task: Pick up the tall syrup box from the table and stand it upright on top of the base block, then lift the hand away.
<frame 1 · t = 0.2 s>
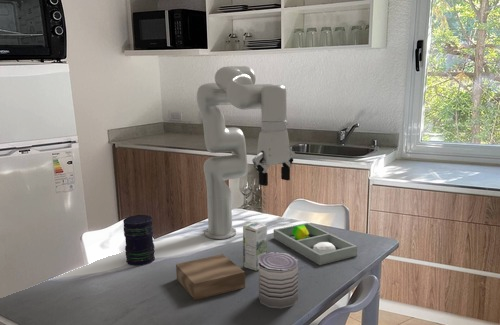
hand: (274, 182, 141), 30 cm above the table, tool pointing down, fingers open, 9 cm apart
storage jar: (140, 260, 160), on the table
apple: (302, 241, 176), resting in fruit tray
base block: (210, 283, 141), on the table
garlic: (323, 253, 164), resting in fruit tray
can: (278, 299, 131), on the table
syrup box: (255, 267, 153), on the table
fruit tray: (313, 246, 170), on the table
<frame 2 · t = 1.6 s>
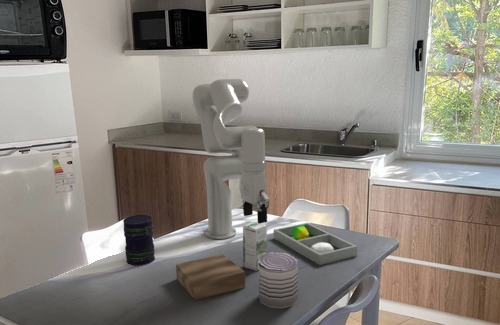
hand: (255, 218, 149), 17 cm above the table, tool pointing down, fingers open, 9 cm apart
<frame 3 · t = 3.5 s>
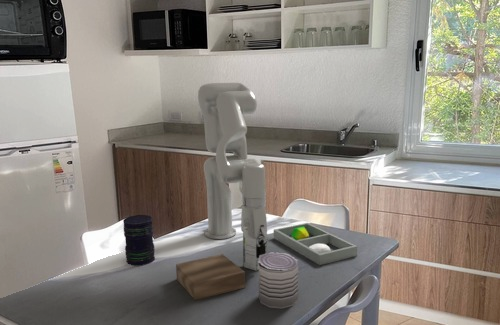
hand: (255, 252, 152), 5 cm above the table, tool pointing down, fingers closed on syrup box, 7 cm apart
apple: (302, 243, 174), resting in fruit tray
garlic: (318, 255, 162), resting in fruit tray
syrup box: (255, 267, 153), on the table, touching gripper
everything else where it was.
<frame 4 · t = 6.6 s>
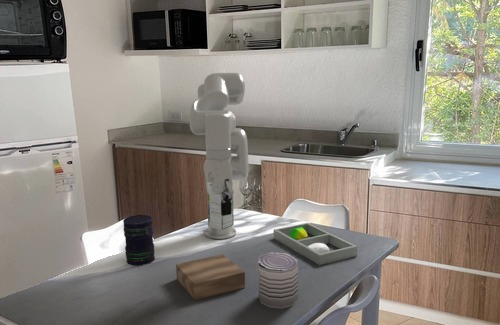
hand: (220, 211, 140), 22 cm above the table, tool pointing down, fingers closed on syrup box, 7 cm apart
apple: (301, 243, 173), resting in fruit tray
syrup box: (221, 227, 141), point 17 cm above the table, touching gripper
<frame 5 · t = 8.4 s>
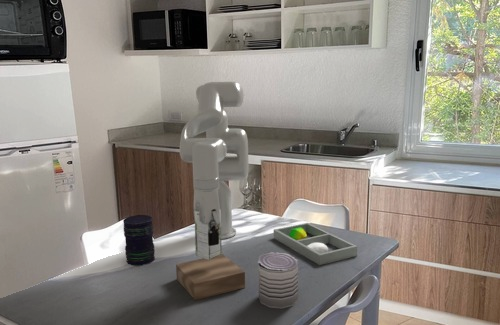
hand: (208, 240, 139), 14 cm above the table, tool pointing down, fingers closed on syrup box, 7 cm apart
syrup box: (209, 256, 140), point 9 cm above the table, touching gripper
when the fingers open (12 cm above the table, at t = 9.8 s): syrup box drops 2 cm, resting on base block.
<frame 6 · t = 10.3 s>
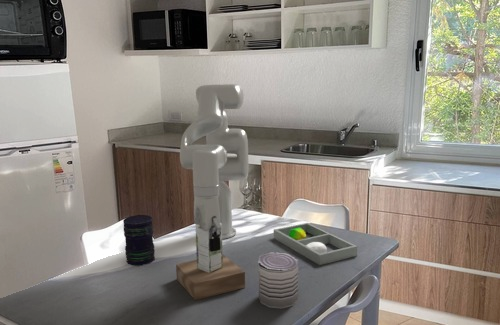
hand: (208, 245, 139), 12 cm above the table, tool pointing down, fingers open, 9 cm apart
apple: (299, 244, 173), resting in fruit tray
syrup box: (210, 268, 140), point 5 cm above the table, touching base block
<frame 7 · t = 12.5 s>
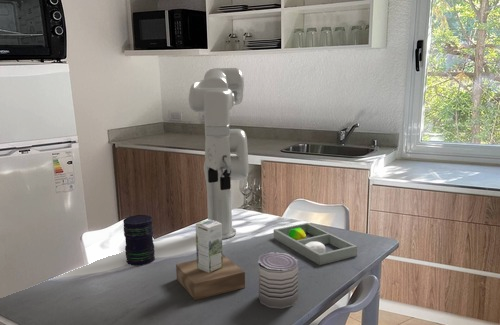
hand: (219, 185, 143), 29 cm above the table, tool pointing down, fingers open, 9 cm apart
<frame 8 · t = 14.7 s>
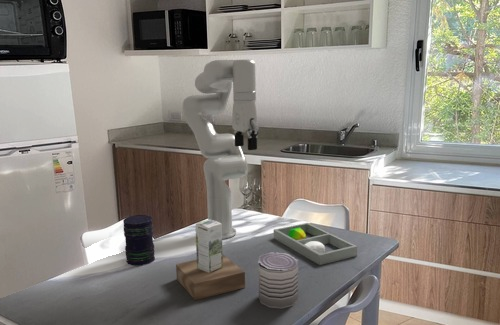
hand: (245, 147, 157), 38 cm above the table, tool pointing down, fingers open, 9 cm apart
at the end: syrup box inside the target area on the base block (0.3 cm from its centre), point 4.8 cm above the base block's base; syrup box tilted 0°; the gripper is holding nothing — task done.
